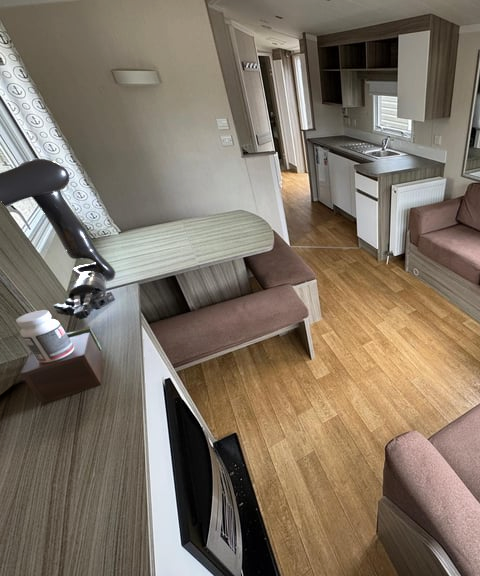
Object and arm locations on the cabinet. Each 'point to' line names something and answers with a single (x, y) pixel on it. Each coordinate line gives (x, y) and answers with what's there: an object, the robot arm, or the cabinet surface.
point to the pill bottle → (44, 336)
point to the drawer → (83, 331)
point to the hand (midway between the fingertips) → (81, 315)
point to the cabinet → (66, 371)
